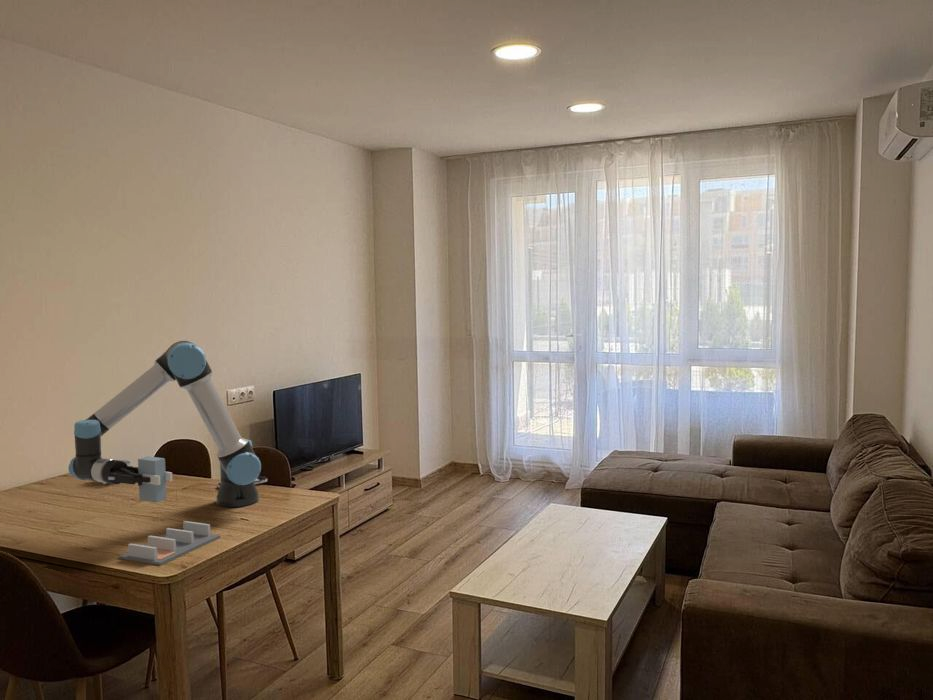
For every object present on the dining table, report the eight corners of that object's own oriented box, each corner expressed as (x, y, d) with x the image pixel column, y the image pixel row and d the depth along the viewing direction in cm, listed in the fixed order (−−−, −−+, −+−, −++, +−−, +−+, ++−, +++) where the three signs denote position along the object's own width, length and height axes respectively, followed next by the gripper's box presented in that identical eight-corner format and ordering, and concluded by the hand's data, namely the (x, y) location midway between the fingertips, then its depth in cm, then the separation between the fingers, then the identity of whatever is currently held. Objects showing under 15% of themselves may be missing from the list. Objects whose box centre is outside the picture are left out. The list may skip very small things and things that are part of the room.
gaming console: (222, 492, 287) (222, 486, 287) (215, 487, 294) (215, 481, 294) (270, 484, 298) (270, 478, 298) (262, 479, 306) (262, 473, 305)
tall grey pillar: (149, 496, 232) (148, 456, 230) (166, 499, 229) (164, 458, 228) (139, 500, 228) (138, 459, 227) (156, 502, 225) (154, 461, 224)
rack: (180, 531, 239) (180, 519, 239) (220, 537, 233) (219, 524, 233) (118, 558, 216) (118, 544, 216) (160, 565, 210) (159, 550, 210)
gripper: (132, 476, 243) (186, 483, 234) (87, 489, 227) (143, 497, 218) (131, 454, 242) (185, 460, 233) (86, 465, 227) (142, 473, 217)
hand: (165, 478), depth 225 cm, fingers closed on tall grey pillar, 4 cm apart
